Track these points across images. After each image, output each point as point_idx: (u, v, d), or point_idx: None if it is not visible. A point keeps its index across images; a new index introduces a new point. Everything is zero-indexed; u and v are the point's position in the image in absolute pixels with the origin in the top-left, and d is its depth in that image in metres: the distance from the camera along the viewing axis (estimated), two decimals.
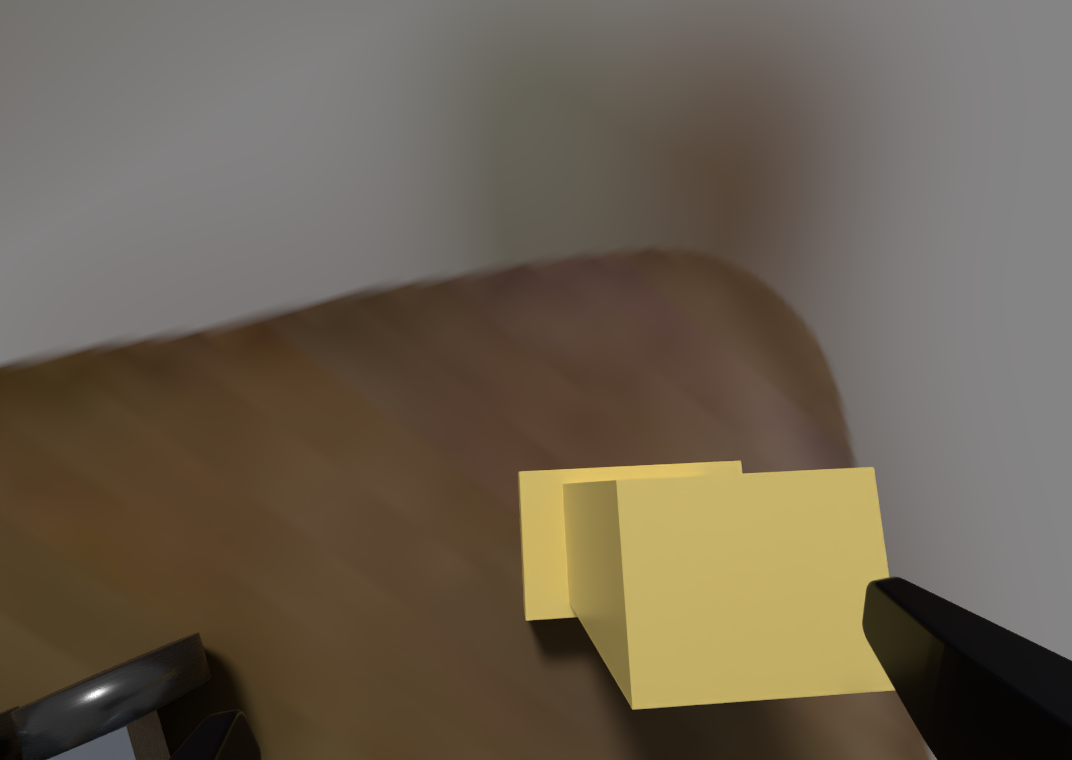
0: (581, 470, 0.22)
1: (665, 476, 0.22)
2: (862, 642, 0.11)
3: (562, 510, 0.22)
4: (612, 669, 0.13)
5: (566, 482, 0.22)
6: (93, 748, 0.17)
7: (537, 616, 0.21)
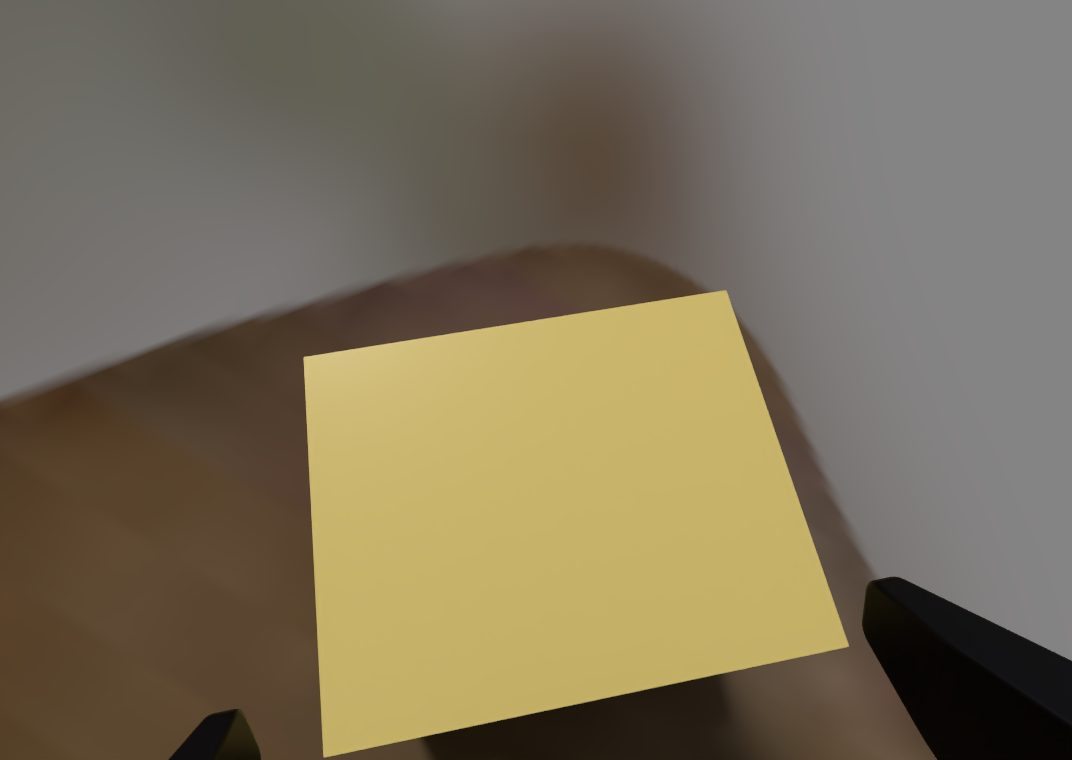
0: None
1: None
2: (755, 570, 0.06)
3: None
4: None
5: None
6: None
7: None
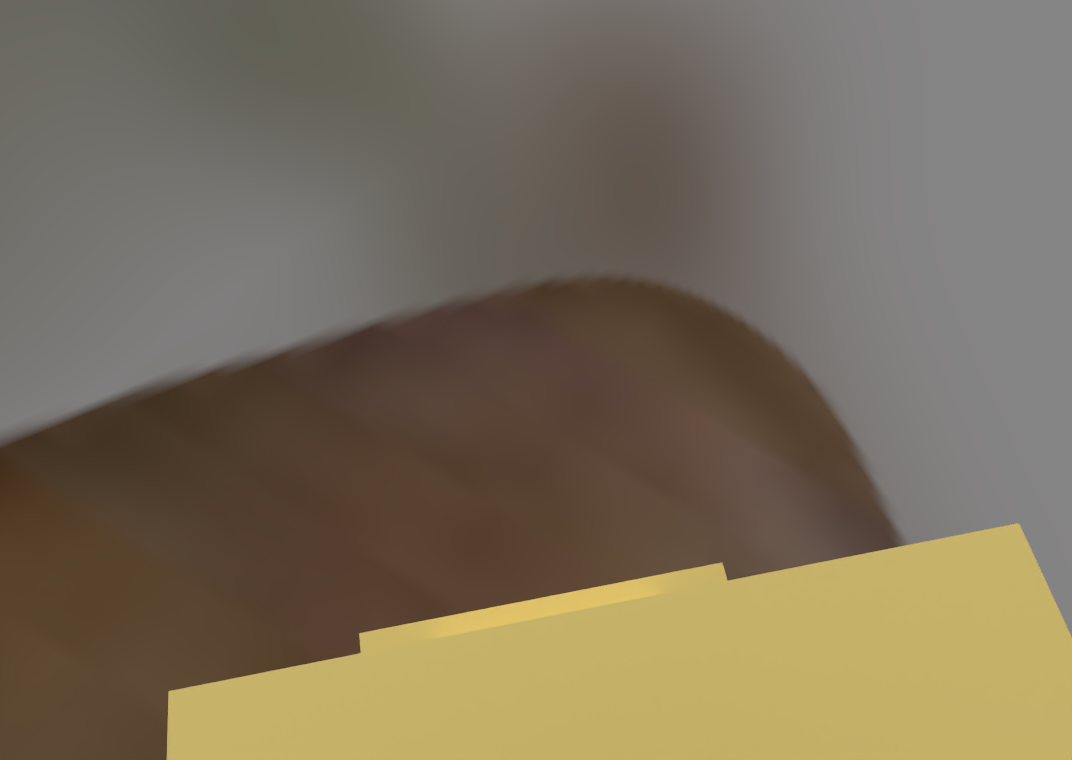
0: (463, 616, 0.13)
1: None
2: None
3: None
4: None
5: None
6: None
7: None
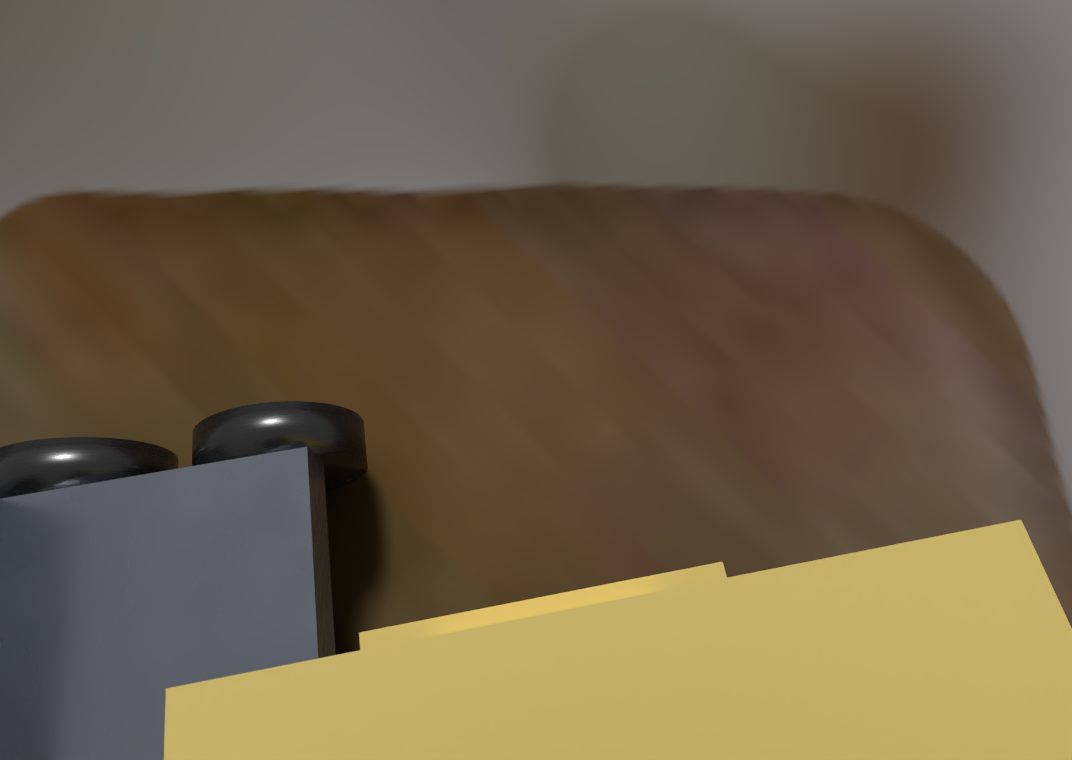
0: (463, 615, 0.13)
1: None
2: None
3: None
4: None
5: None
6: (271, 460, 0.17)
7: None
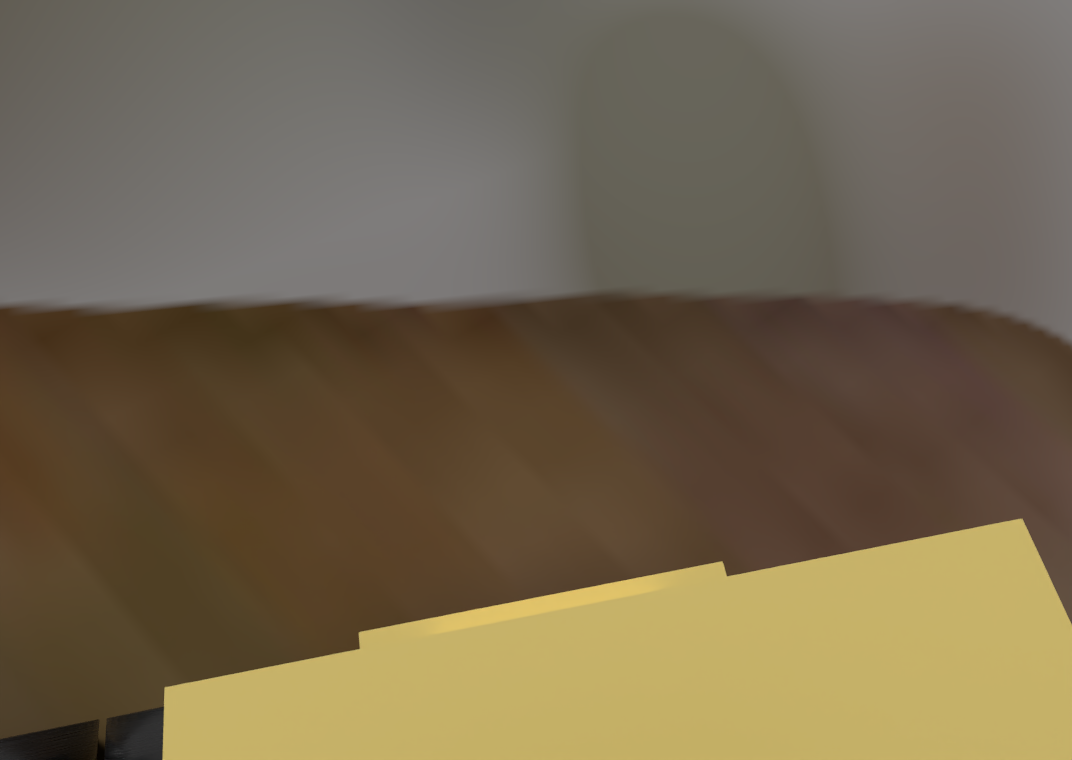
0: (462, 615, 0.13)
1: None
2: None
3: None
4: None
5: None
6: None
7: None
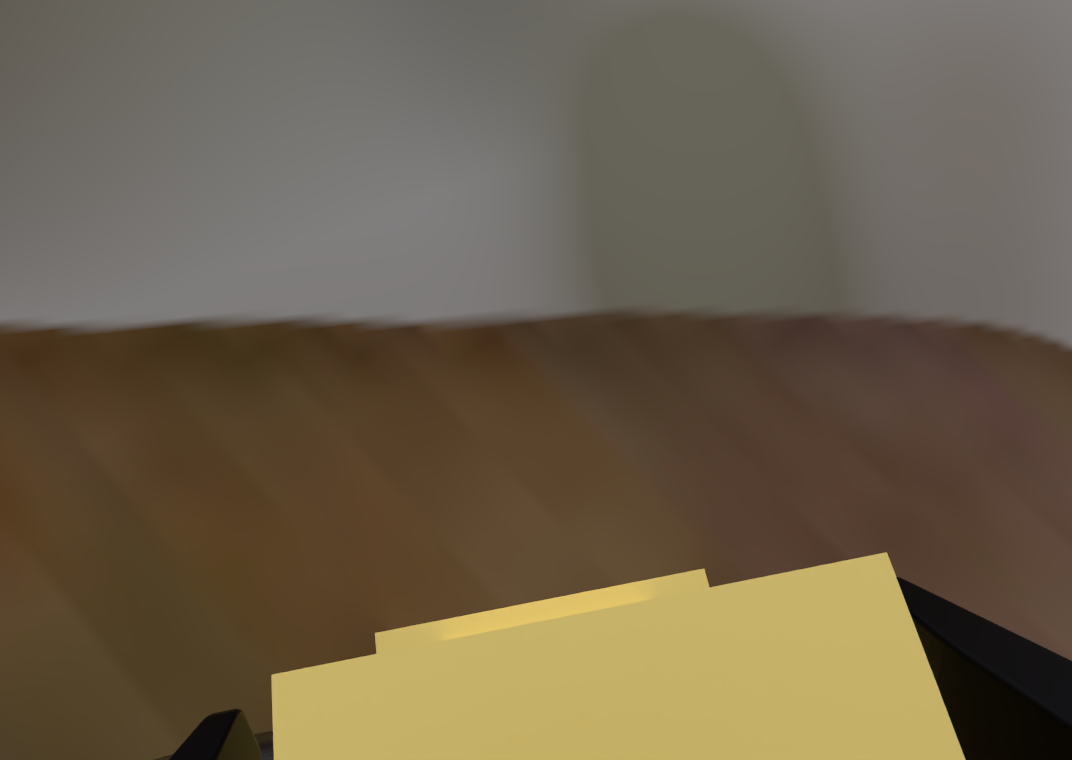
0: (468, 617, 0.15)
1: (595, 609, 0.15)
2: None
3: None
4: None
5: (447, 640, 0.15)
6: None
7: None
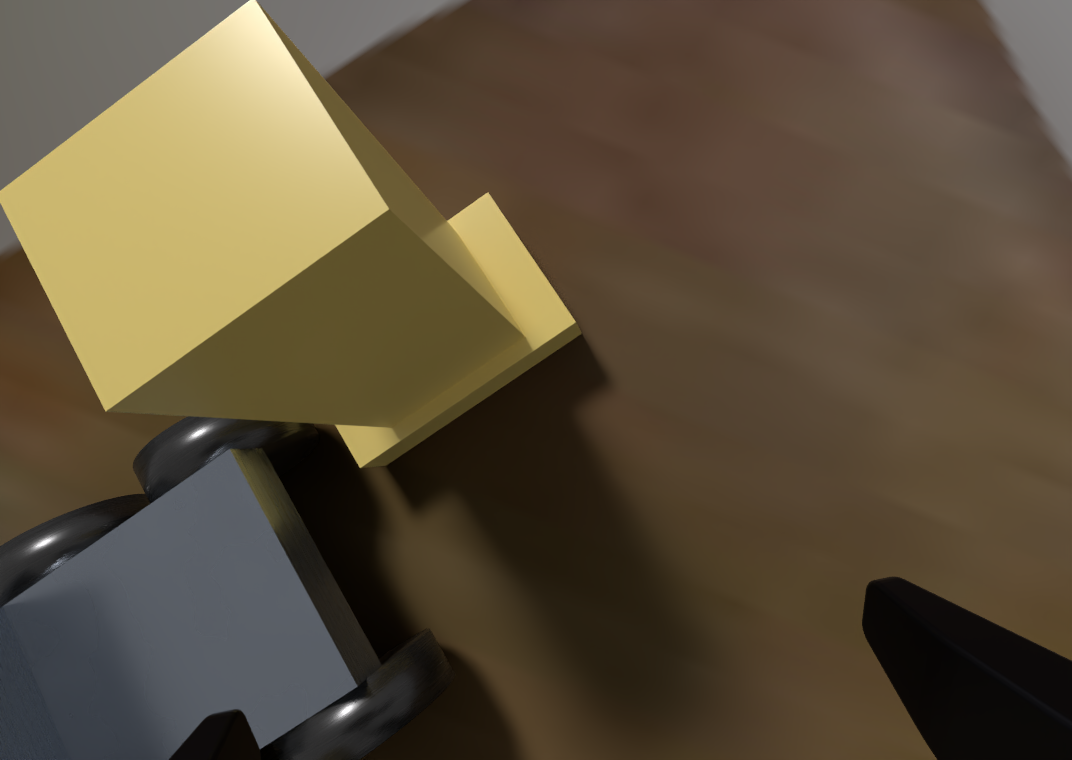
0: None
1: None
2: (320, 189, 0.09)
3: None
4: None
5: None
6: (205, 474, 0.17)
7: (368, 458, 0.19)
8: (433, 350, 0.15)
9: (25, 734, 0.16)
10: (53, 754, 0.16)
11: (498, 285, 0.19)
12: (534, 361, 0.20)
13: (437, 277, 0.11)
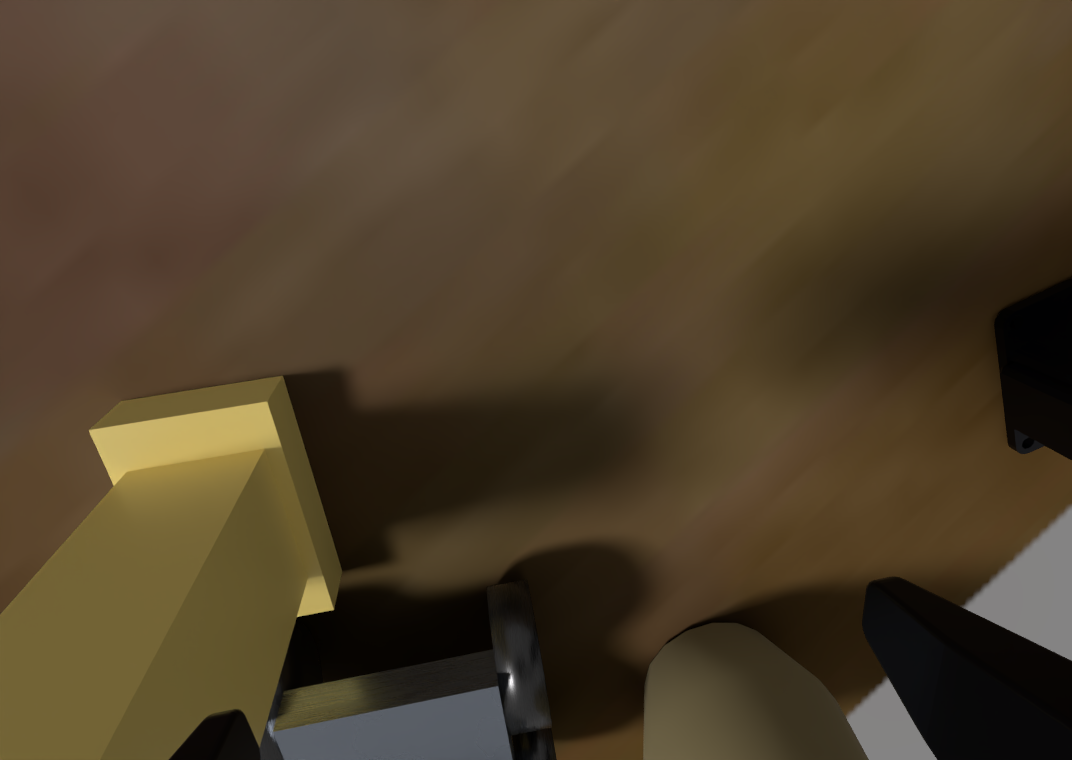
0: None
1: None
2: None
3: None
4: None
5: None
6: (288, 751, 0.20)
7: (328, 601, 0.21)
8: (244, 587, 0.16)
9: None
10: None
11: (201, 453, 0.19)
12: (294, 431, 0.20)
13: (167, 654, 0.12)
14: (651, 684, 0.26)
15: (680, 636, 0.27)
